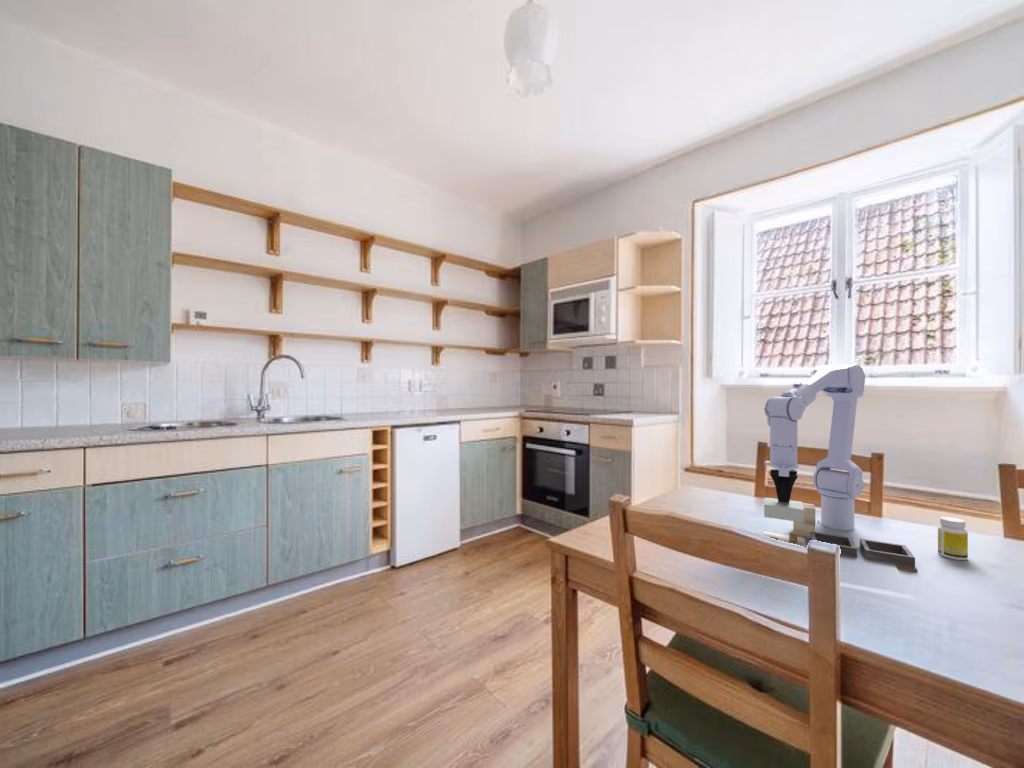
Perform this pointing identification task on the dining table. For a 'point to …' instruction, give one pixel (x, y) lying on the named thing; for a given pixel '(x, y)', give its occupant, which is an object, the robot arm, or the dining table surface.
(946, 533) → the supplement bottle
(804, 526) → the maple peg
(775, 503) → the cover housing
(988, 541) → the dining table surface
